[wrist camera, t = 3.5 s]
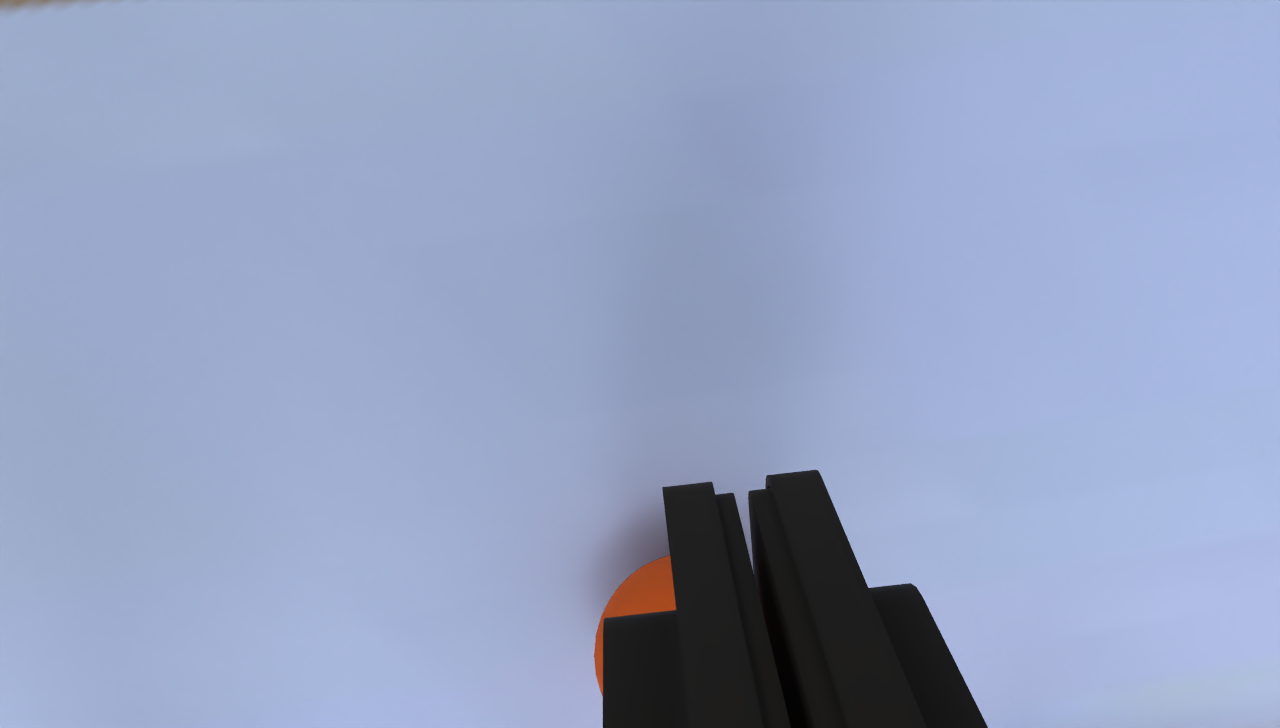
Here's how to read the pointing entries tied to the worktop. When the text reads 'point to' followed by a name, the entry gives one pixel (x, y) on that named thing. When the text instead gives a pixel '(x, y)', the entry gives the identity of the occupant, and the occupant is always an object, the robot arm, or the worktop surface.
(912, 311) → the worktop surface
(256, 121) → the worktop surface
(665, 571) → the ball
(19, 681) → the worktop surface
